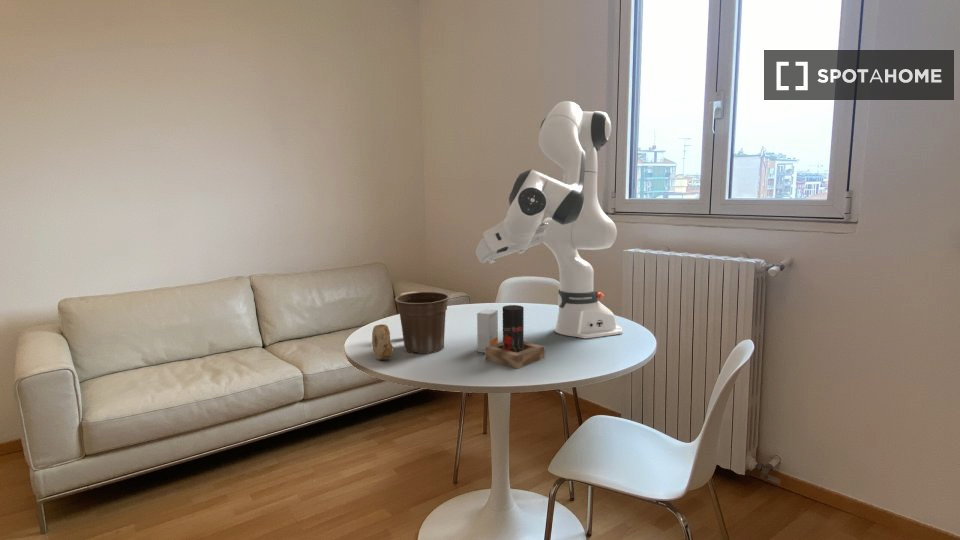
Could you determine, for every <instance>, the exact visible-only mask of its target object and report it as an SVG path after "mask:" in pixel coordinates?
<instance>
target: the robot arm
mask: <svg viewBox="0 0 960 540" xmlns="http://www.w3.org/2000/svg"><path fill="white" fill-rule="evenodd" d="M610 119H611V118H610V116H609V115H608V113H607V112H604V111H600V110H595V111H582V109H581V108H580V106H579V105H578V104H577V103H575V102H573V101H570V100H569V101H568V100H564V101H560V102H558V103H557V104H555V105H554V107H553V108H552V109H551V110H550V111H549V113H548V115H546V116H545V118H543V120H542V122H541V124H540V129H539V134H538V146H539V148H540V150H541V152H542V153H543V154H544V156H545V157H546V158H548V159H549V160H550V161H552V162H553V163H555V164H556V165H558V166H559V167H560V168H562V169H563V171H562V181H560V180H558V179H555V178H553V177H551V176H549V175H547V174H545V173H542V172H540V171H538V170H535V169H528V170H525V171H524V172H521V173H519V175H518V177H517V178H516V180H515V182H514V184H513V187H512V189H511V192H510V194H509V196H508V201H509V202H508V203H509V204H508V205H509V208H508V210H507V212H506V216H505V218H504V219H503V220H502V221H499V223H498V224H496V225H494V226H493V227H491V228H488V229H486V230H485V231H483V233H482V236H483V238H481V240H480V241H479V243H478V244H477V246H476V250H475V255H476V257H477V260H478V261H479V263H481V264H485V263H487V262H488V263H489V264H490V265H492V264H494V263H495V262H496V260H497V259H499V258H502V257H505V256H509V255H511V254H514V253H517V254H518V255H520V254H524V253H525V251H526V250H528V249H529V248H531V247H536V246H538V245H540V244H542V243H543V245H545V246H546V247H547V248H548V249H549V250H550V251H551V252H552V254H553V256H554V258H555V259H556V262H557V265H558V271H559V289H558V295H557V304H558V313H557V320H556V324H555V328H554V332H555V333H557V334H559V335H561V336H566V337H567V336H568V337H575V338H576V337H577V338H580V339H591V338H598V337H599V338H600V337H608V336H613V335H622V334H623V328H622V327H621V326H620V325H618V324H617V322H616V321H617V320H616V318H615V314H614V313H613V312H612V310H611V309H609V308H608V307H606V306H605V305H604V304H602V302H600V301H599V300H603V298H604V297H605V295H604V293H603V292H599V291H597V290H594V277H595V276H594V273H595V272H594V267H593V266H592V265H591V263H589V262H588V261H586V260H585V259H583V258H582V257H581V255H580V254H579V251H578V250H592V251H598V250H604V249H609V248H611V247H612V246H613V245H614V244H615V242H616V239H617V236H618V230H617V226H616V224H615V222H614V221H613V220H612V219H611V218H610V217H609V216H608V215H607V214H606V213H605V211H604V210H603V209H602V207H601V205H600V202H599V200H598V198H599V197H598V170H599V169H598V168H599V167H598V163H599V162H598V152H599V151H601V148H602V147H604V146H605V145H606V144H607V142H609V140H610V137H611V133H612V123H611V120H610ZM544 217H545V218H544Z"/></svg>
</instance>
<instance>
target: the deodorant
mask: <svg viewBox="0 0 960 540" xmlns="http://www.w3.org/2000/svg"><path fill="white" fill-rule="evenodd" d="M524 312H525V311H524V306H522V305H516V304H513V305H512V304H509V305H504V306H502V342H503V349H505V350H508V351H512V352H516V353H517V352H520V351H523V350H524V336H525V335H524V334H525V333H524V331H525V330H524V324H525V323H524V316H525V315H524Z"/></svg>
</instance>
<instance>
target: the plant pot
mask: <svg viewBox="0 0 960 540" xmlns="http://www.w3.org/2000/svg"><path fill="white" fill-rule="evenodd" d="M415 292H416V293H408V294H404V295H401V294H400V295H398V296H396V297H395V298H394V300H395V303H396V305H397V309H398V310H397V311H398V313H399V317H400V324H401V332H402V338H403V345H404V347H403V348H404V350H405V351H406V352H408V353H411V354H414V353H418V354H419V353H420V354H432V352H433V353H436V352H438V351H441V350H442V349H444V347H445V331H446V313H447V310H448V300H449V299H450V296H449V295H448V294H446V293H443V292H436V291H415ZM420 354H419V355H420Z"/></svg>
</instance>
